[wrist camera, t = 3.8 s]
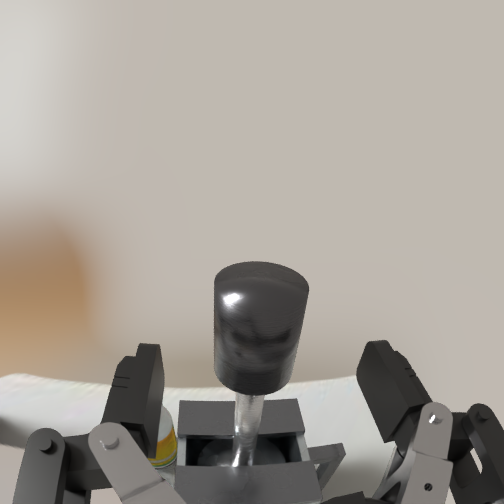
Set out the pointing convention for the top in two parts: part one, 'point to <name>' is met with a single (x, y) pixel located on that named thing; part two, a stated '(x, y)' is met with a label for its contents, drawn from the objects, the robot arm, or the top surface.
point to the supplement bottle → (165, 441)
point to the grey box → (259, 476)
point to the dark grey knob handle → (254, 352)
